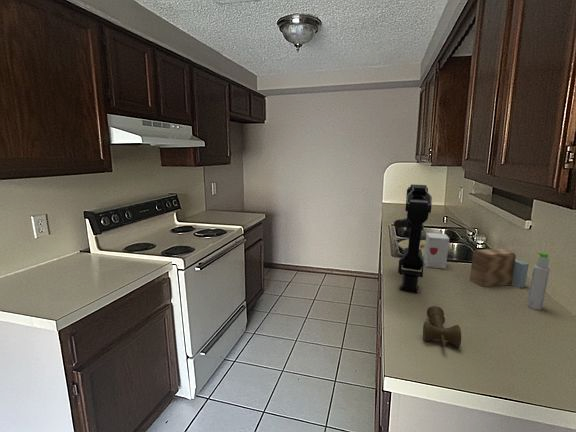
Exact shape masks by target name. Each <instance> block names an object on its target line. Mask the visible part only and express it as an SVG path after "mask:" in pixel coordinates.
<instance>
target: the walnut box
mask: <svg viewBox="0 0 576 432" xmlns="http://www.w3.org/2000/svg"><path fill="white" fill-rule="evenodd" d="M516 256H517V254H515V252H512V251H510V250H507V249H504V248H493V249H491V248H490V249H489V248H487V249H475V250H474V251H473V255H472V259H471V260H472V261H471V269H470V273H469V274H470V276H469V281H471V282H472V283H475V284H477V285H478V286H480V287H482V288H486V287H496V286H497V287H498V286H508V285H512V284H511V282H512V276H513V270H514V264H515V259H517V258H516Z"/></svg>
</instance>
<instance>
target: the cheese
mask: <svg viewBox="0 0 576 432" xmlns="http://www.w3.org/2000/svg"><path fill="white" fill-rule="evenodd" d="M425 242H426V239H425V240H423V239H422V240H421V239H420V246H419V249H421V251H422V259H424V250H425ZM408 244H409V238H407V239H404V240H401V241H399V242H398V243H397V244H396V245H397V246H398V247H399V248H401V249H402V250H403V251H404V249H405V248H408Z"/></svg>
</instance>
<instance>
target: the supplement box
mask: <svg viewBox="0 0 576 432" xmlns="http://www.w3.org/2000/svg"><path fill="white" fill-rule="evenodd" d="M425 241H426V242H425V250H424V263H423V265H424V267H426V268H432V269H435V268H436V269H444V270H446V269H447V262H448V261H447V260H448V254H449V245H450V237H449V236H448V235H447V234H445V233H437V232H426V235H425Z"/></svg>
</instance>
